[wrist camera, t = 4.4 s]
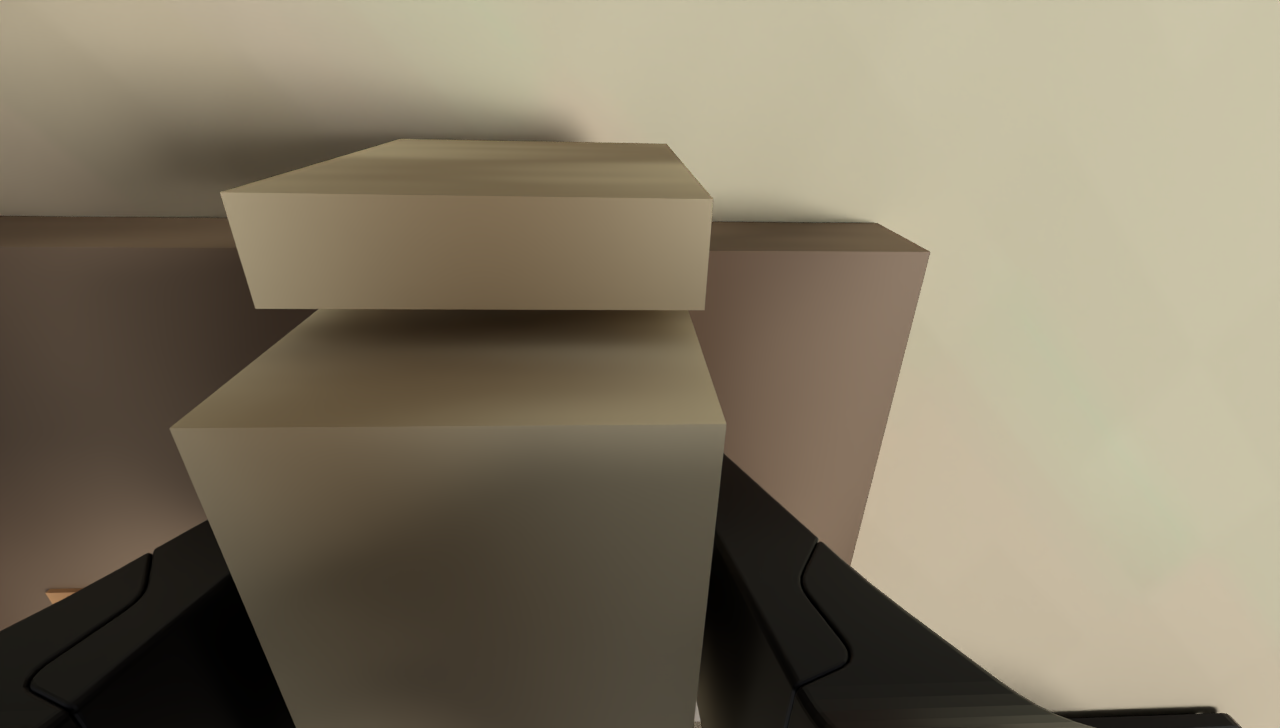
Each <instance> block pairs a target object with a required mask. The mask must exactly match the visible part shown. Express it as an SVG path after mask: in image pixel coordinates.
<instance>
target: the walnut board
mask: <svg viewBox="0 0 1280 728" xmlns="http://www.w3.org/2000/svg"><path fill="white" fill-rule="evenodd" d="M929 255H930V252H929V251H928V250H926V249H924V248H922V247H920V246H918V245H917V244H915V243H913V242H911V241H909V240H907V239H905V238H904V237H902V236H900V235H898V234H896V233H894V232H893V231H891V230H889V229H887V228H885V227H883V226H882V225H880V224H878V223H783V222H711V235H710V247H709V260H708V273H707V285H706V298H705V310H688V311H689V314H690V317H691V320H692V323H693V326H694V329H695V332H696V335H697V338H698V341H699V344H700V347H701V350H702V353H703V356H704V359H705V362H706V365H707V368H708V371H709V374H710V377H711V379H712V382H713V385H714V388H715V391H716V394H717V397H718V400H719V403H720V406H721V409H722V412H723V415H724V418H725V421H726V424H727V425H726V434H725V443H724V452H723V453H724V454H725V455H727V456H728V457H729V458H730V459H731V460H732V461H733V462H734V463H735V464H737V465H738V466H739V467H740V468H741V469H742V470H743V471H744V472H745V473H747V474H748V475H749V476H750V477H751V478H752V479H753V480H754V481H755V482H757V483H758V484H759V485H760V486H761V487H762V488H763V489H764V490H765V491H767V492H768V493H769V494H770V495H771V496H772V497H773V498H774V499H775V500H777V501H778V502H779V503H780V504H781V505H782V506H783V507H784V508H785V509H787V510H788V511H789V512H790V513H791V514H792V515H793V516H794V517H795V518H797V519H798V520H799V521H800V522H801V523H802V524H803V525H804V526H805V527H807V528H808V529H809V530H810V531H811V532H812V533H813V534H814V535H815V536H817V537H818V539H819V541H822V542H824V543H825V544H826V545H827V546H828V547H829V548H830V549H831V550H832V551H834V552H835V553H836V554H837V555H838V556H839V557H840V558H841V559H843V560H844V561H845V562H846V563H847V564H848V565H851V561H852V557H853V553H854V549H855V545H856V541H857V538H858V534H859V530H860V526H861V522H862V518H863V514H864V510H865V506H866V502H867V498H868V494H869V490H870V487H871V483H872V479H873V475H874V471H875V467H876V463H877V459H878V455H879V451H880V447H881V443H882V439H883V436H884V432H885V428H886V424H887V420H888V416H889V412H890V408H891V404H892V400H893V396H894V392H895V389H896V385H897V381H898V377H899V373H900V369H901V365H902V361H903V357H904V353H905V349H906V345H907V341H908V338H909V334H910V330H911V326H912V322H913V318H914V314H915V310H916V306H917V302H918V298H919V294H920V290H921V287H922V283H923V279H924V275H925V271H926V267H927V263H928V259H929ZM317 310H318V309H255V306H254V302H253V299H252V296H251V293H250V289H249V286H248V283H247V280H246V276H245V273H244V270H243V267H242V263H241V260H240V257H239V253H238V250H237V247H236V244H235V240H234V237H233V234H232V231H231V227H230V224H229V221H228V218H167V217H44V216H0V631H1V630H3V629H5V628H7V627H9V626H11V625H13V624H15V623H17V622H19V621H21V620H23V619H25V618H27V617H29V616H31V615H33V614H35V613H37V612H39V611H41V610H43V609H45V608H47V607H49V606H51V605H52V604H54V603H56V602H58V601H60V600H62V599H64V598H66V597H68V596H70V595H72V594H73V593H75V592H77V591H79V590H81V589H83V588H85V587H86V586H88V585H90V584H92V583H94V582H96V581H97V580H99V579H101V578H103V577H105V576H107V575H109V574H110V573H112V572H114V571H116V570H118V569H120V568H121V567H123V566H125V565H127V564H128V563H130V562H132V561H134V560H135V559H137V558H139V557H141V556H143V555H144V554H146V553H152V554H153V551H154V549H156V548H157V547H159V546H161V545H163V544H164V543H166V542H168V541H170V540H172V539H173V538H175V537H177V536H179V535H181V534H182V533H184V532H186V531H188V530H189V529H191V528H193V527H195V526H197V525H198V524H200V523H202V522H204V521H206V520H207V516H206V514H205V512H204V509H203V507H202V504H201V502H200V500H199V497H198V495H197V493H196V490H195V488H194V486H193V483H192V481H191V478H190V476H189V474H188V471H187V469H186V467H185V464H184V462H183V460H182V457H181V455H180V452H179V450H178V448H177V445H176V443H175V441H174V438H173V436H172V434H171V431H170V429H169V428H170V427H172V426H173V425H174V424H175V423H177V422H178V421H179V420H180V419H182V418H183V417H184V416H185V415H187V414H188V413H189V412H190V411H192V410H193V409H194V408H195V407H197V406H198V405H199V404H200V403H202V402H203V401H204V400H205V399H207V398H208V397H209V396H210V395H212V394H213V393H214V392H215V391H217V390H218V389H219V388H220V387H222V386H223V385H224V384H225V383H227V382H228V381H229V380H230V379H232V378H233V377H234V376H235V375H237V374H238V373H239V372H240V371H242V370H243V369H244V368H245V367H247V366H248V365H249V364H250V363H252V362H253V361H254V360H255V359H257V358H258V357H259V356H260V355H262V354H263V353H264V352H266V351H267V350H268V349H269V348H271V347H272V346H273V345H274V344H276V343H277V342H278V341H279V340H281V339H282V338H283V337H284V336H286V335H287V334H288V333H289V332H291V331H292V330H293V329H294V328H296V327H297V326H298V325H299V324H301V323H302V322H303V321H304V320H306V319H307V318H308V317H309V316H311V315H312V314H313V313H314V312H316V311H317ZM698 721H700V716H699V711H698V706H697V701H696V709H695V718H694V722H698Z"/></svg>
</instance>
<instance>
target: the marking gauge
mask: <svg viewBox="0 0 1280 728" xmlns="http://www.w3.org/2000/svg"><path fill="white" fill-rule="evenodd" d="M220 195H221V198H222V201H223V204H224V208H225V211H226V214H227V218H228V221H229V224H230V227H231V231H232V234H233V237H234V240H235V244H236V247H237V250H238V253H239V257H240V260H241V263H242V267H243V270H244V273H245V276H246V280H247V283H248V286H249V289H250V293H251V296H252V299H253V302H254V306H255V309H318V310H317V311H316V312H314V313H313V314H312V315H311V316H309V317H308V318H307V319H306V320H304V321H303V322H302V323H301V324H299V325H298V326H297V327H296V328H294V329H293V330H292V331H291V332H289V333H288V334H287V335H286V336H284V337H283V338H282V339H281V340H279V341H278V342H277V343H276V344H274V345H273V346H272V347H271V348H269V349H268V350H267V351H266V352H264V353H263V354H262V355H260V356H259V357H258V358H257V359H255V360H254V361H253V362H252V363H250V364H249V365H248V366H247V367H245V368H244V369H243V370H242V371H240V372H239V373H238V374H237V375H235V376H234V377H233V378H232V379H230V380H229V381H228V382H227V383H225V384H224V385H223V386H222V387H220V388H219V389H218V390H217V391H215V392H214V393H213V394H212V395H210V396H209V397H208V398H207V399H205V400H204V401H203V402H202V403H200V404H199V405H198V406H197V407H195V408H194V409H193V410H192V411H190V412H189V413H188V414H187V415H185V416H184V417H183V418H182V419H180V420H179V421H178V422H177V423H175V424H174V425H173V426H172V427H170V428H169V429H170V431H171V434H172V436H173V438H174V441H175V443H176V445H177V448H178V450H179V452H180V455H181V457H182V460H183V462H184V464H185V467H186V469H187V471H188V474H189V476H190V478H191V481H192V483H193V486H194V488H195V490H196V493H197V495H198V497H199V500H200V502H201V504H202V507H203V509H204V512H205V514H206V516H207V519H208V521H209V523H210V526H211V528H212V530H213V533H214V535H215V538H216V540H217V542H218V545H219V547H220V549H221V552H222V554H223V556H224V559H225V561H226V564H227V566H228V568H229V571H230V573H231V575H232V578H233V580H234V582H235V585H236V587H237V589H238V592H239V594H240V597H241V599H242V601H243V604H244V606H245V608H246V611H247V613H248V615H249V618H250V620H251V623H252V625H253V627H254V630H255V632H256V634H257V637H258V639H259V641H260V644H261V646H262V649H263V651H264V653H265V656H266V658H267V660H268V663H269V665H270V667H271V670H272V672H273V675H274V677H275V679H276V682H277V684H278V686H279V689H280V691H281V693H282V696H283V698H284V701H285V703H286V705H287V708H288V710H289V712H290V715H291V717H292V719H293V722H294V724H295V726H296V728H693V727H694V718H695V709H696V700H697V690H698V681H699V672H700V663H701V654H702V645H703V635H704V626H705V617H706V608H707V599H708V590H709V580H710V571H711V562H712V553H713V544H714V535H715V525H716V516H717V507H718V498H719V489H720V480H721V470H722V461H723V452H724V443H725V434H726V425H727V424H726V421H725V418H724V415H723V412H722V409H721V406H720V403H719V400H718V397H717V394H716V391H715V388H714V385H713V382H712V379H711V377H710V374H709V371H708V368H707V365H706V362H705V359H704V356H703V353H702V350H701V347H700V344H699V341H698V338H697V335H696V332H695V329H694V326H693V323H692V320H691V317H690V314H689V311H688V310H705V298H706V285H707V273H708V260H709V247H710V235H711V222H712V210H713V198H712V197H711V196H710V195H709V193H708V192H707V191H706V190H705V189H704V188H703V186H702V185H701V184H700V183H699V182H698V180H697V179H696V178H695V177H694V176H693V175H692V173H691V172H690V171H689V170H688V169H687V168H686V166H685V165H684V164H683V163H682V162H681V160H680V159H679V158H678V157H677V156H676V155H675V153H674V152H673V151H672V150H671V149H670V147H669V146H668V145H667V144H648V143H595V142H543V141H490V140H438V139H398V140H395V141H391V142H388V143H385V144H381V145H378V146H374V147H371V148H368V149H364V150H361V151H358V152H354V153H351V154H347V155H344V156H341V157H337V158H334V159H331V160H327V161H324V162H320V163H317V164H314V165H310V166H307V167H304V168H300V169H297V170H293V171H290V172H287V173H283V174H280V175H277V176H273V177H270V178H266V179H263V180H260V181H256V182H253V183H250V184H246V185H243V186H239V187H236V188H233V189H229V190H226V191H223V192H220Z"/></svg>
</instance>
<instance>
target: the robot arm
mask: <svg viewBox="0 0 1280 728" xmlns="http://www.w3.org/2000/svg"><path fill="white" fill-rule="evenodd" d="M696 701H697V706H698V711H699V716H700V721H701V726H702V728H1242V727H1241V726H1240V725H1239V724H1238V723H1237V722H1236V721H1235V720H1234V719H1233V718H1232V717H1231V716H1230V715H1228V714H1225V713H1214V714H1186V715H1158V716H1130V717H1102V718H1074V719H1067V718H1064V717H1062V716H1059V715H1057V714H1054V713H1052V712H1050V711H1048V710H1046V709H1044V708H1042V707H1040V706H1038V705H1036V704H1035V703H1033V702H1031V701H1030V700H1028V699H1026V698H1025V697H1023V696H1021V695H1020V694H1018V693H1016V692H1015V691H1014V690H1012V689H1011V688H1009V687H1008V686H1006V685H1005V684H1004V683H1002V682H1001V681H999V680H998V679H997V678H995V677H994V676H993V675H991V674H990V673H989V672H987V671H986V670H984V669H983V668H982V667H980V666H979V665H978V664H976V663H975V662H974V661H972V660H971V659H970V658H968V657H967V656H966V655H964V654H963V653H962V652H960V651H959V650H958V649H956V648H955V647H954V646H952V645H951V644H950V643H948V642H947V641H946V640H944V639H943V638H942V637H940V636H939V635H938V634H936V633H935V632H934V631H932V630H931V629H930V628H928V627H927V626H926V625H924V624H923V623H922V622H920V621H919V620H918V619H916V618H915V617H913V616H912V615H911V614H909V613H908V612H907V611H905V610H904V609H903V608H902V607H900V606H899V605H898V604H896V603H895V602H894V601H893V600H891V599H890V598H889V597H887V596H886V595H885V594H884V593H882V592H881V591H880V590H878V589H877V588H876V587H875V586H873V585H872V584H871V583H870V582H868V581H867V580H866V579H865V578H864V577H863V576H861V575H860V574H859V573H858V572H857V571H855V570H854V569H853V568H852V567H851V566H850V565H848V564H847V563H846V562H845V561H844V560H843V559H841V558H840V557H839V556H838V555H837V554H836V553H835V552H834V551H832V550H831V549H830V548H829V547H828V546H827V545H826V544H825V543H824V542H822V541H819V539H818V537H817V536H815V535H814V534H813V533H812V532H811V531H810V530H809V529H808V528H807V527H805V526H804V525H803V524H802V523H801V522H800V521H799V520H798V519H797V518H795V517H794V516H793V515H792V514H791V513H790V512H789V511H788V510H787V509H785V508H784V507H783V506H782V505H781V504H780V503H779V502H778V501H777V500H775V499H774V498H773V497H772V496H771V495H770V494H769V493H768V492H767V491H765V490H764V489H763V488H762V487H761V486H760V485H759V484H758V483H757V482H755V481H754V480H753V479H752V478H751V477H750V476H749V475H748V474H747V473H745V472H744V471H743V470H742V469H741V468H740V467H739V466H738V465H737V464H735V463H734V462H733V461H732V460H731V459H730V458H729V457H728V456H727V455H725V454H724V453H723V461H722V470H721V480H720V489H719V498H718V507H717V516H716V525H715V535H714V544H713V553H712V562H711V571H710V580H709V590H708V599H707V608H706V617H705V626H704V635H703V645H702V654H701V663H700V672H699V681H698V690H697V700H696ZM0 728H296V726H295V724H294V722H293V719H292V717H291V715H290V712H289V710H288V708H287V705H286V703H285V701H284V698H283V696H282V693H281V691H280V689H279V686H278V684H277V682H276V679H275V677H274V675H273V672H272V670H271V667H270V665H269V663H268V660H267V658H266V656H265V653H264V651H263V649H262V646H261V644H260V641H259V639H258V637H257V634H256V632H255V630H254V627H253V625H252V623H251V620H250V618H249V615H248V613H247V611H246V608H245V606H244V604H243V601H242V599H241V597H240V594H239V592H238V589H237V587H236V585H235V582H234V580H233V578H232V575H231V573H230V571H229V568H228V566H227V564H226V561H225V559H224V556H223V554H222V552H221V549H220V547H219V545H218V542H217V540H216V538H215V535H214V533H213V530H212V528H211V526H210V523H209V521H208V519H207V520H206V521H204V522H202V523H200V524H198V525H197V526H195V527H193V528H191V529H189V530H188V531H186V532H184V533H182V534H181V535H179V536H177V537H175V538H173V539H172V540H170V541H168V542H166V543H164V544H163V545H161V546H159V547H157V548H156V549H154V551H153V554H152V553H146V554H144V555H143V556H141V557H139V558H137V559H135V560H134V561H132V562H130V563H128V564H127V565H125V566H123V567H121V568H120V569H118V570H116V571H114V572H112V573H110V574H109V575H107V576H105V577H103V578H101V579H99V580H97V581H96V582H94V583H92V584H90V585H88V586H86V587H85V588H83V589H81V590H79V591H77V592H75V593H73V594H72V595H70V596H68V597H66V598H64V599H62V600H60V601H58V602H56V603H54V604H52V605H51V606H49V607H47V608H45V609H43V610H41V611H39V612H37V613H35V614H33V615H31V616H29V617H27V618H25V619H23V620H21V621H19V622H17V623H15V624H13V625H11V626H9V627H7V628H5V629H3V630H1V631H0Z"/></svg>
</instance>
